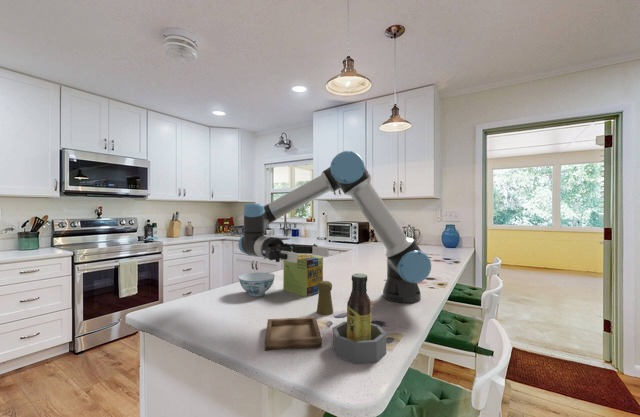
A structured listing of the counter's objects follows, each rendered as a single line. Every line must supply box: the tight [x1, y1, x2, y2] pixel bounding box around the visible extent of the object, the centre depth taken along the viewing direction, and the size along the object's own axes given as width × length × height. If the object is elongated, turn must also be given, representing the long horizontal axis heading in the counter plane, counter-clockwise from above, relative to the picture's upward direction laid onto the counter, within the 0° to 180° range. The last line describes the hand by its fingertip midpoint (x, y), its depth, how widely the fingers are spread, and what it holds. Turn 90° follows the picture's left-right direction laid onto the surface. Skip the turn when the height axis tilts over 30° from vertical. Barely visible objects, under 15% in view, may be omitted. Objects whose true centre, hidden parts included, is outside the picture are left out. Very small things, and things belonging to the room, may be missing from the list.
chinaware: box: [238, 271, 275, 297], centre depth 125 cm, size 15×15×8 cm
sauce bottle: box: [346, 273, 372, 341], centre depth 76 cm, size 6×6×20 cm
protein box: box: [282, 253, 324, 298], centre depth 129 cm, size 10×15×16 cm
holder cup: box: [332, 321, 387, 365], centre depth 76 cm, size 13×13×5 cm
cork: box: [316, 280, 334, 316], centre depth 103 cm, size 6×6×11 cm
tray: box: [264, 316, 323, 352], centre depth 84 cm, size 15×15×2 cm
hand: (312, 255), depth 88 cm, fingers open, 13 cm apart
